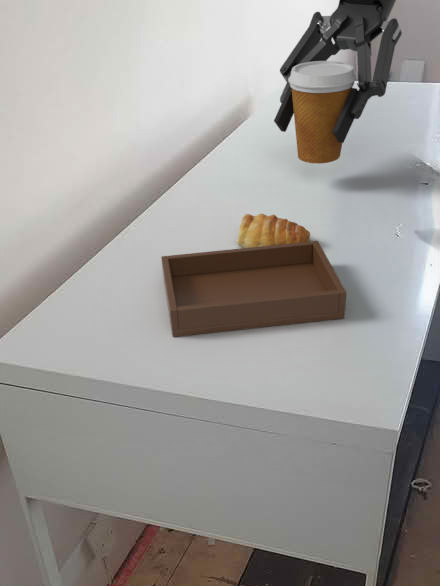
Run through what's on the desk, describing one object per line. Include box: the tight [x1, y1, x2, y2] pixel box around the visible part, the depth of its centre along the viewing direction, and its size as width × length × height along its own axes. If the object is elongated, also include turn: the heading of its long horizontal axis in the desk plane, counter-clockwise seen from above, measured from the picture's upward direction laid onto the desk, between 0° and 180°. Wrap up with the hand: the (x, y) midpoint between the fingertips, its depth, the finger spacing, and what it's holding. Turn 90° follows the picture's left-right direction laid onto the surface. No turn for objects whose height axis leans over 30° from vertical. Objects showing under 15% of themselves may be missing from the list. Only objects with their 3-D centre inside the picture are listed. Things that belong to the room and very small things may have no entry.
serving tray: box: [160, 240, 347, 338], centre depth 85 cm, size 20×14×3 cm
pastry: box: [236, 213, 311, 249], centre depth 95 cm, size 9×7×4 cm
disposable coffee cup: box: [288, 60, 357, 165], centre depth 104 cm, size 10×10×12 cm
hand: (308, 131), depth 104 cm, fingers closed on disposable coffee cup, 9 cm apart
